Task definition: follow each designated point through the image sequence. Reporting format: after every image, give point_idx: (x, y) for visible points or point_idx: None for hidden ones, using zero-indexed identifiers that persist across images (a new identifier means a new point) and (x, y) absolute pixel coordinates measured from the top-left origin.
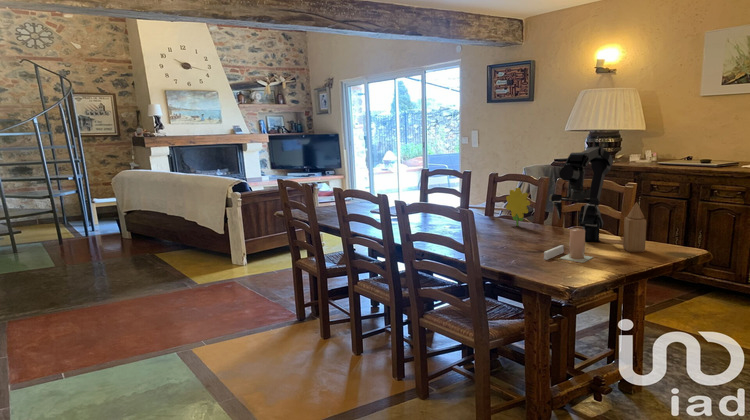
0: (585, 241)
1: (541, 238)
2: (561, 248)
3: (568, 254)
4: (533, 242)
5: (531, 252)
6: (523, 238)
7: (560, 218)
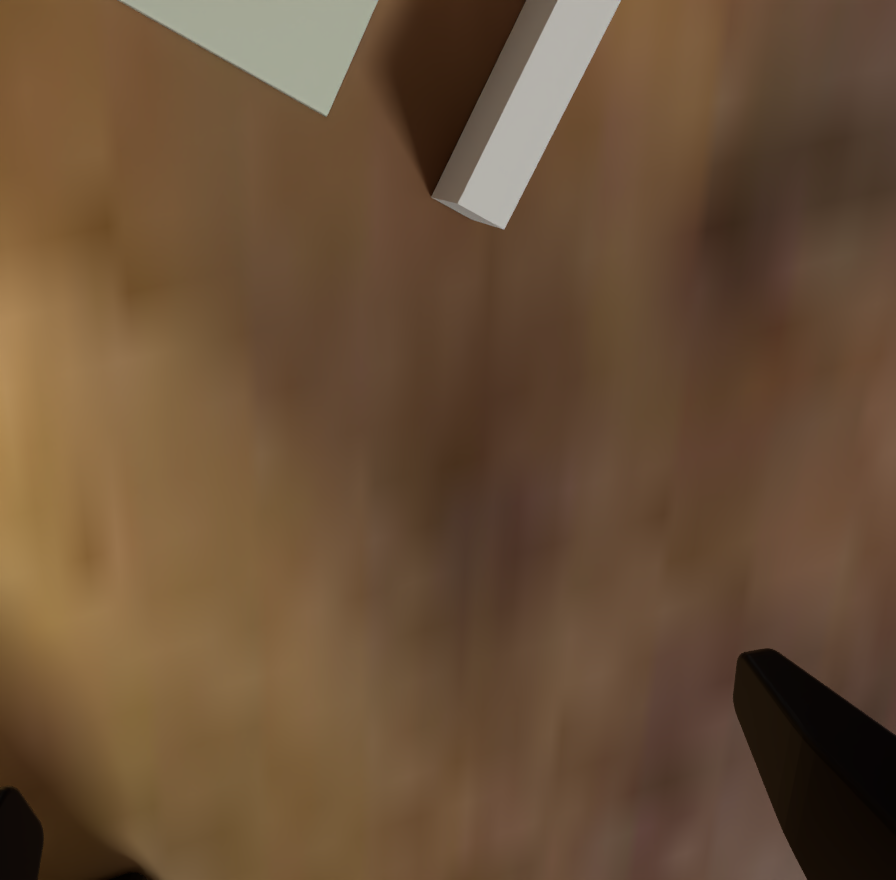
0: (139, 875)
1: (653, 861)
2: (489, 121)
3: (360, 12)
4: None
5: (868, 127)
6: None
7: (765, 663)
